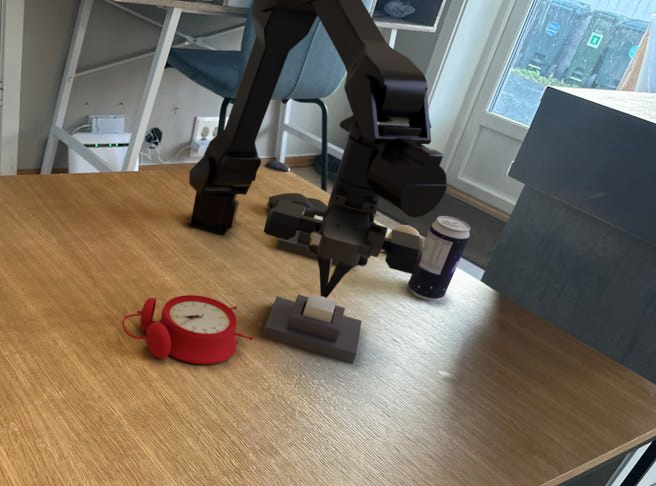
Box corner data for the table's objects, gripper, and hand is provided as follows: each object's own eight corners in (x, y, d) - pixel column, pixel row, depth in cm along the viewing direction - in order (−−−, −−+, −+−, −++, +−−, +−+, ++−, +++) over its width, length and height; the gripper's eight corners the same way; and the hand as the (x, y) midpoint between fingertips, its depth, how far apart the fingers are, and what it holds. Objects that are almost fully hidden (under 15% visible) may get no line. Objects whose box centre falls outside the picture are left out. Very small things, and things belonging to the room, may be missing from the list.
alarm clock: (261, 341, 83) (145, 315, 78) (240, 382, 87) (126, 360, 81) (236, 296, 92) (129, 269, 86) (217, 335, 95) (112, 311, 89)
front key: (302, 316, 91) (305, 305, 90) (306, 304, 94) (309, 293, 93) (329, 324, 91) (333, 313, 90) (332, 311, 93) (336, 300, 92)
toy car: (333, 225, 127) (340, 205, 125) (270, 220, 124) (275, 199, 122) (323, 212, 131) (329, 192, 129) (262, 206, 129) (267, 186, 127)
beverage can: (444, 306, 107) (475, 235, 100) (407, 298, 107) (436, 226, 101) (440, 290, 112) (470, 220, 105) (404, 281, 112) (432, 211, 105)
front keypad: (261, 337, 91) (267, 314, 89) (273, 306, 99) (279, 284, 97) (352, 364, 89) (360, 341, 87) (358, 330, 97) (366, 309, 95)
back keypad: (276, 249, 114) (282, 229, 113) (285, 229, 122) (290, 210, 120) (349, 269, 113) (355, 249, 111) (354, 247, 120) (360, 229, 118)
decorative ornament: (392, 245, 124) (402, 216, 121) (428, 267, 118) (440, 238, 115) (376, 247, 122) (386, 219, 119) (412, 270, 116) (423, 240, 113)
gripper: (270, 180, 77) (240, 303, 86) (442, 225, 74) (393, 347, 83) (287, 153, 86) (258, 266, 95) (441, 192, 83) (396, 305, 92)
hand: (323, 295), depth 91 cm, fingers closed
